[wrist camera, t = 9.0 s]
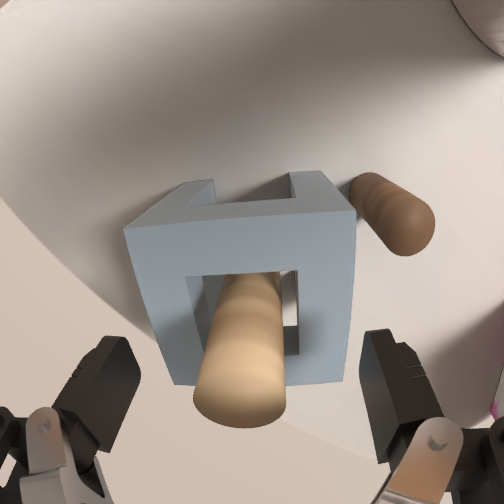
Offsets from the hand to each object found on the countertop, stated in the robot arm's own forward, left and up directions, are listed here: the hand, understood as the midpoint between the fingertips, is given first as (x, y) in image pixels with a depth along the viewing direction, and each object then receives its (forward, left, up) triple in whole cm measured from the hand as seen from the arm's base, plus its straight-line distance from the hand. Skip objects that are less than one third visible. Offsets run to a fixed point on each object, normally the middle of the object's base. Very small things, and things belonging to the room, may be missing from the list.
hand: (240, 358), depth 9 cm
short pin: (-2, +7, -10) cm, 13 cm away
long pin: (0, 0, -10) cm, 10 cm away
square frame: (0, 0, -10) cm, 10 cm away
